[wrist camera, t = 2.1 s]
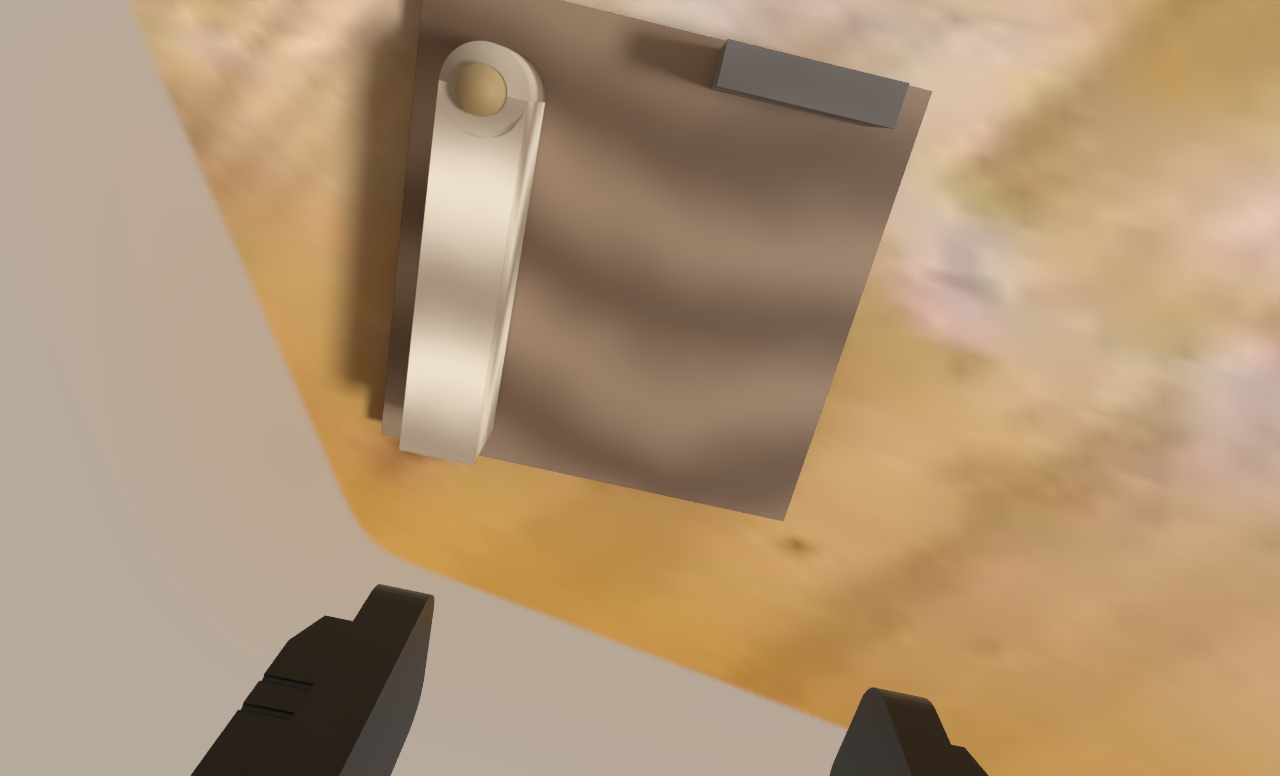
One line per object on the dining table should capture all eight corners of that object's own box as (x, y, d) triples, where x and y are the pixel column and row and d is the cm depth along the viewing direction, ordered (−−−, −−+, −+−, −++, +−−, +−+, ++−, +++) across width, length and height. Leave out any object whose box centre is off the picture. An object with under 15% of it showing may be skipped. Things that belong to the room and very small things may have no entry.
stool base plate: (435, -27, 27) (385, -56, 22) (921, 92, 27) (972, 88, 23) (390, 423, 34) (345, 473, 29) (779, 507, 34) (796, 570, 30)
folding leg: (472, 40, 26) (439, 29, 22) (551, 59, 26) (532, 51, 23) (427, 415, 32) (394, 455, 28) (492, 429, 32) (469, 471, 28)
